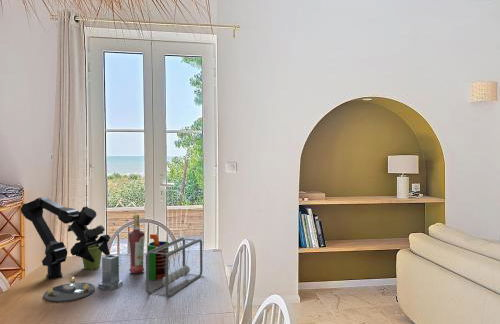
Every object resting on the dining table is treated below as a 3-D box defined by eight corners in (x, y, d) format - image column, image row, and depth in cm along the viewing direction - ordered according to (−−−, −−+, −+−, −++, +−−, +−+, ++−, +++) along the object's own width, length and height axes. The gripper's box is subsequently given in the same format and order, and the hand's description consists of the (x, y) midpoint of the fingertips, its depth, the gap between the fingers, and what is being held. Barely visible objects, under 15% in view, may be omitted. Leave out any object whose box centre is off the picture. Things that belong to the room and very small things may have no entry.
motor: (161, 281, 170) (161, 237, 169) (143, 279, 172) (143, 236, 171) (170, 274, 180) (170, 232, 179) (153, 272, 181) (153, 231, 181)
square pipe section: (95, 288, 161) (94, 258, 161) (110, 281, 169) (109, 252, 169) (111, 291, 158) (111, 260, 157) (126, 284, 166) (125, 254, 166)
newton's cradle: (183, 273, 181) (183, 236, 181) (202, 275, 178) (202, 238, 177) (145, 295, 153) (145, 252, 153) (167, 299, 150) (167, 254, 149)
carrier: (43, 289, 159) (43, 280, 159) (92, 282, 169) (91, 273, 169) (44, 305, 143) (44, 295, 143) (97, 296, 152) (97, 286, 152)
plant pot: (109, 266, 191) (109, 244, 191) (88, 272, 181) (88, 249, 181) (95, 262, 198) (94, 241, 197) (74, 268, 188) (73, 246, 187)
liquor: (138, 275, 177) (138, 216, 176) (125, 274, 179) (125, 215, 179) (147, 271, 184) (147, 214, 183) (135, 269, 186) (134, 213, 186)
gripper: (74, 224, 158) (95, 252, 154) (107, 216, 175) (126, 242, 171) (61, 241, 161) (81, 269, 157) (94, 232, 178) (113, 257, 175)
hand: (101, 259), depth 165 cm, fingers open, 9 cm apart
